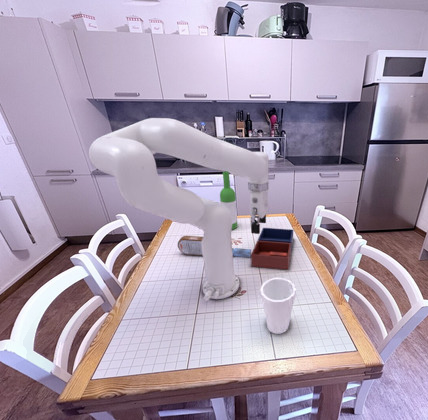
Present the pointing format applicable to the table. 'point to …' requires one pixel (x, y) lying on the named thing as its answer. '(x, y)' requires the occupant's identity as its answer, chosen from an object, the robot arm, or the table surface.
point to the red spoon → (274, 254)
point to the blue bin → (276, 235)
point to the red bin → (271, 261)
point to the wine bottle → (229, 198)
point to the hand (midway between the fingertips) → (258, 227)
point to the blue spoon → (241, 252)
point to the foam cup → (278, 303)
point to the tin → (190, 245)
